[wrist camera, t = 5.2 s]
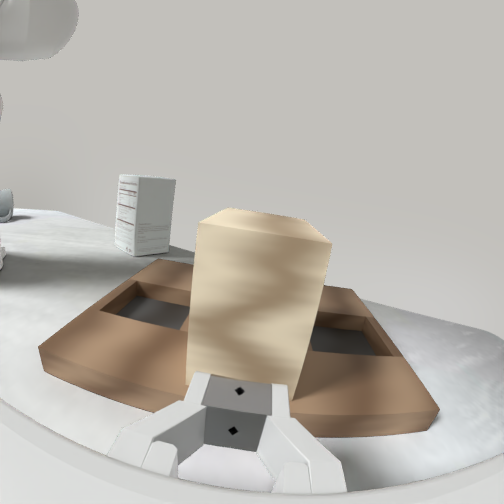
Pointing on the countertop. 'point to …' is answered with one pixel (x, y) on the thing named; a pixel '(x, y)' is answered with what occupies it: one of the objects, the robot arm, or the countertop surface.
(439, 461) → the countertop surface
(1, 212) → the ceramic mug
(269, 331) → the birch block
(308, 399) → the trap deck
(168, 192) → the supplement box
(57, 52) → the robot arm
